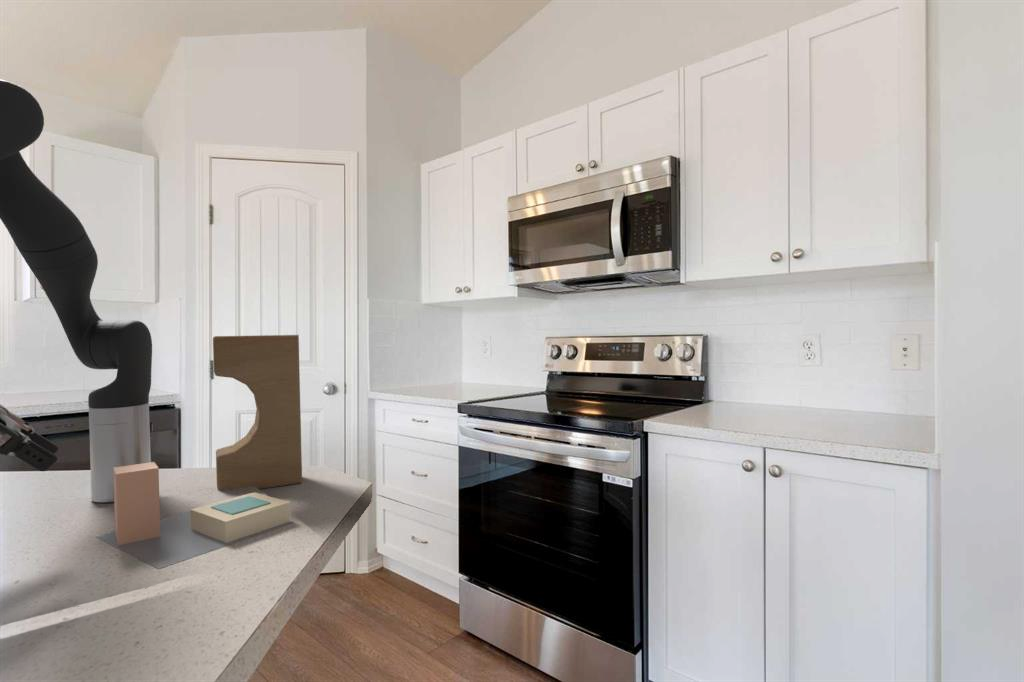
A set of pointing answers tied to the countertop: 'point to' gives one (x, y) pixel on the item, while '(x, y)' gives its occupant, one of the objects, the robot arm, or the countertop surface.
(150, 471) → the terracotta block
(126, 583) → the countertop surface
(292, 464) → the decorative block
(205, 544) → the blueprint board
